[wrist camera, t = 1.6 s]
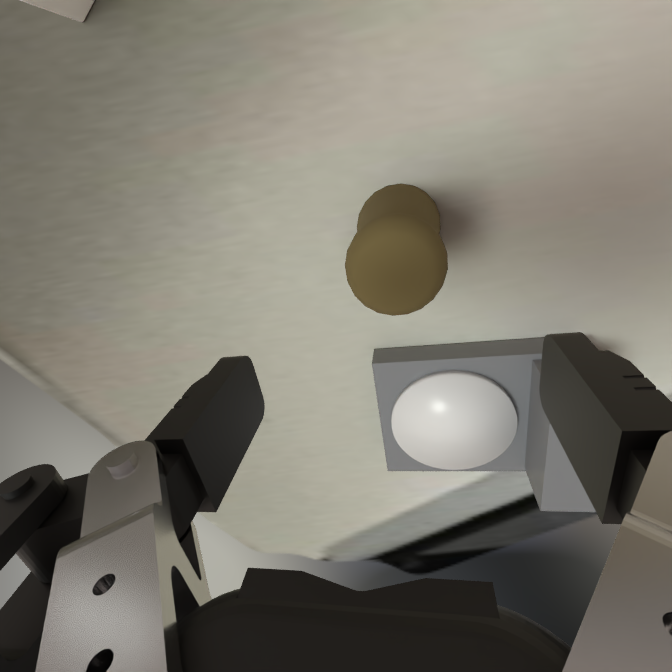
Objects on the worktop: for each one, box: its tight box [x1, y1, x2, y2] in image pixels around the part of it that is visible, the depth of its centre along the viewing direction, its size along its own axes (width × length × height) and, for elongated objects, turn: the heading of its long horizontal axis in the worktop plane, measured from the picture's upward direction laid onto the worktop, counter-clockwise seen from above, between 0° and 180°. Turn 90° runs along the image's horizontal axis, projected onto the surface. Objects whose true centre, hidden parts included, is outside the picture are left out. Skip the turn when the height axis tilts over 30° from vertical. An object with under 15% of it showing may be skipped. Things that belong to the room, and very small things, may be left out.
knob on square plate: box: [372, 337, 596, 512], centre depth 30 cm, size 16×12×7 cm
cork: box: [345, 184, 448, 316], centre depth 23 cm, size 6×6×11 cm
